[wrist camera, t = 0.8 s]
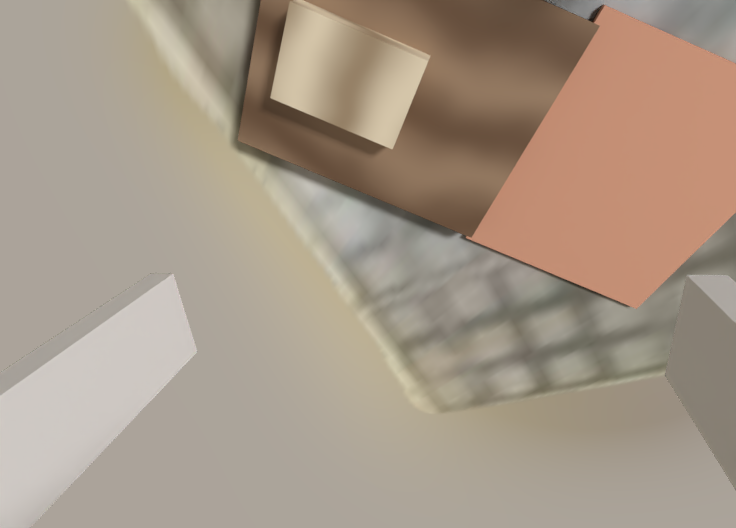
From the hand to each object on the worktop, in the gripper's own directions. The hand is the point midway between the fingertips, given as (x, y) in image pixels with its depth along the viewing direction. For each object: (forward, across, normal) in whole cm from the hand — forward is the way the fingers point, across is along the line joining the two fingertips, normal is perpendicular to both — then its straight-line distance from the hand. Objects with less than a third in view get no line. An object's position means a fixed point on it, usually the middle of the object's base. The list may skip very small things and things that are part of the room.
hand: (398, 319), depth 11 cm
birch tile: (+21, -6, +6) cm, 23 cm away
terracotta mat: (+25, +13, -3) cm, 28 cm away
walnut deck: (+24, -3, +5) cm, 24 cm away
